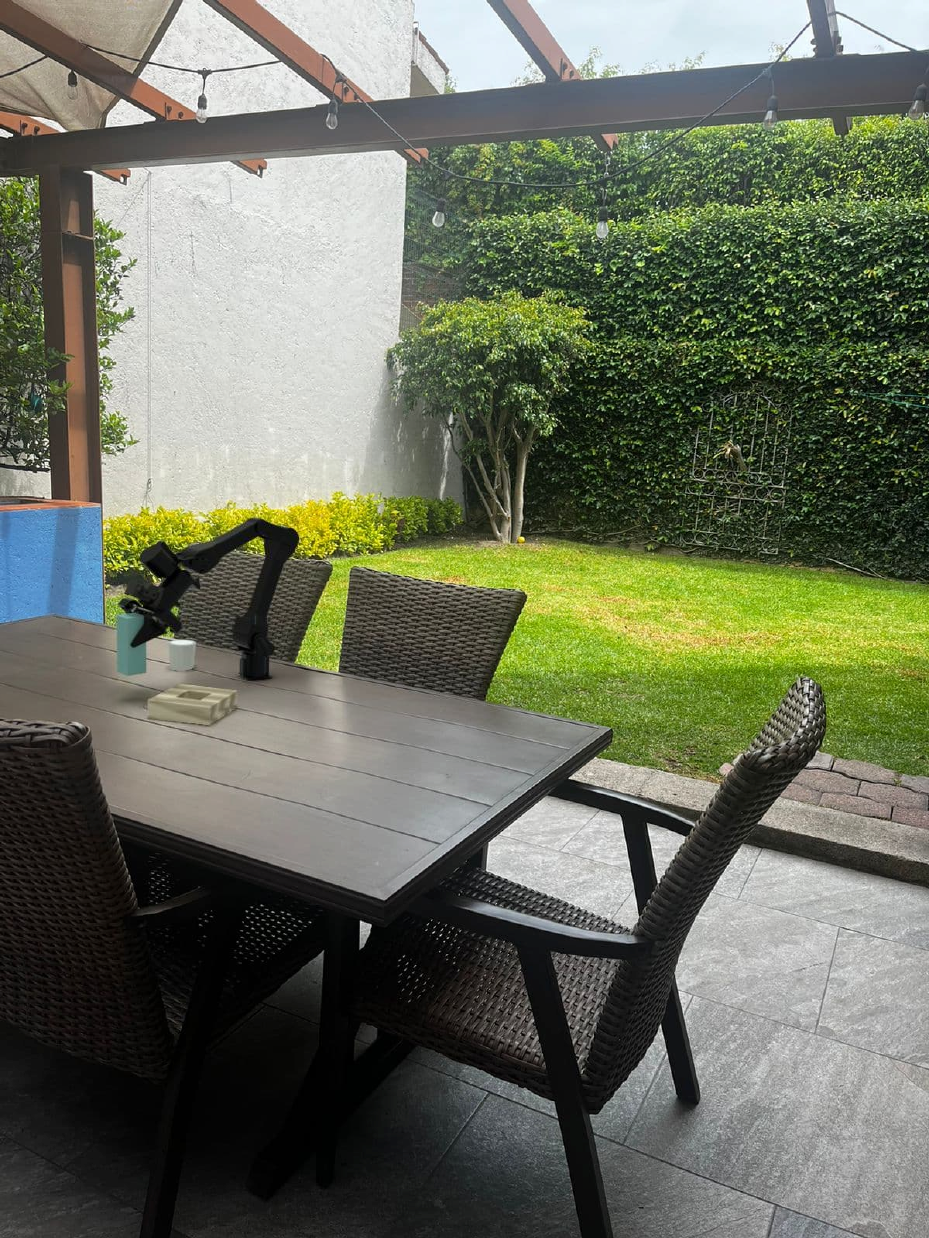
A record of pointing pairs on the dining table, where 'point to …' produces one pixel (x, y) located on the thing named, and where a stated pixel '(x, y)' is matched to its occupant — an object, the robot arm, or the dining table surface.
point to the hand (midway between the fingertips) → (125, 644)
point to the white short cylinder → (181, 654)
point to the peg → (128, 657)
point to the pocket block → (192, 704)
